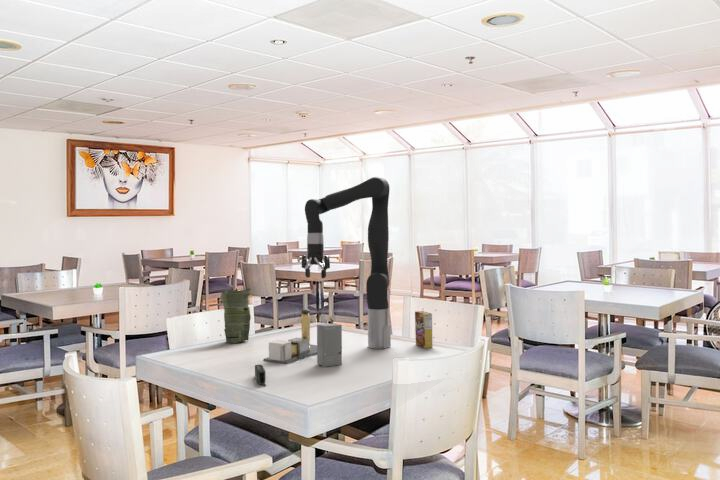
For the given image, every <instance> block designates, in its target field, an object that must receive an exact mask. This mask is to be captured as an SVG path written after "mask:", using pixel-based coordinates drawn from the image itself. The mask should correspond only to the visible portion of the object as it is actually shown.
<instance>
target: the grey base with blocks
mask: <svg viewBox="0 0 720 480" xmlns="http://www.w3.org/2000/svg"><path fill="white" fill-rule="evenodd" d="M287 341H290V342H291V343H294V342H295V343H298V354H297V355H294V356H291V359H288V360H285V361H279V360H271V359H269V356H268V357H265V358H262V359H263V361H264V362H269V363H270V362H271V363H278V364H283V365H288V364H291V363H294V362H298V361H300V360H303V359H306V358H309V357H312V356H316V355H317V344H311V343H310V350H309V351H308V339H305V338H302V337H294V338H290V339H288V340H287Z"/></svg>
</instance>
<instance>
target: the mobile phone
mask: <svg viewBox="0 0 720 480" xmlns="http://www.w3.org/2000/svg"><path fill="white" fill-rule="evenodd" d="M254 377H255V378H256V383H257V384H258V385H263V386H264V387H266V386H267V384H266V379H267V378H266V377H267V376H266V369H265V368H264V366H263V365H262V364H259V363H258V364H255V366H254Z"/></svg>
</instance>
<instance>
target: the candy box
mask: <svg viewBox="0 0 720 480" xmlns="http://www.w3.org/2000/svg"><path fill="white" fill-rule="evenodd" d="M414 323H415V325H414V327H415V330H414V331H415V332H414V333H415V345H416V346H419V347H421V348H423V349H431V348H433V313H430V312H427V311H424V310H416V311H414Z"/></svg>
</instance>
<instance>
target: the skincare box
mask: <svg viewBox="0 0 720 480" xmlns="http://www.w3.org/2000/svg"><path fill="white" fill-rule="evenodd" d="M342 328H343V327H342V324H338V323H318V324H316V345H317V354H316V363H317V365H319V366H321V367H322V368H326V367H334V366H341V365H342V364H343V358H342V357H343V356H342V355H343V354H342V353H343V347H342V345H343V343H342V342H343V333H342V331H343V329H342Z"/></svg>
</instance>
